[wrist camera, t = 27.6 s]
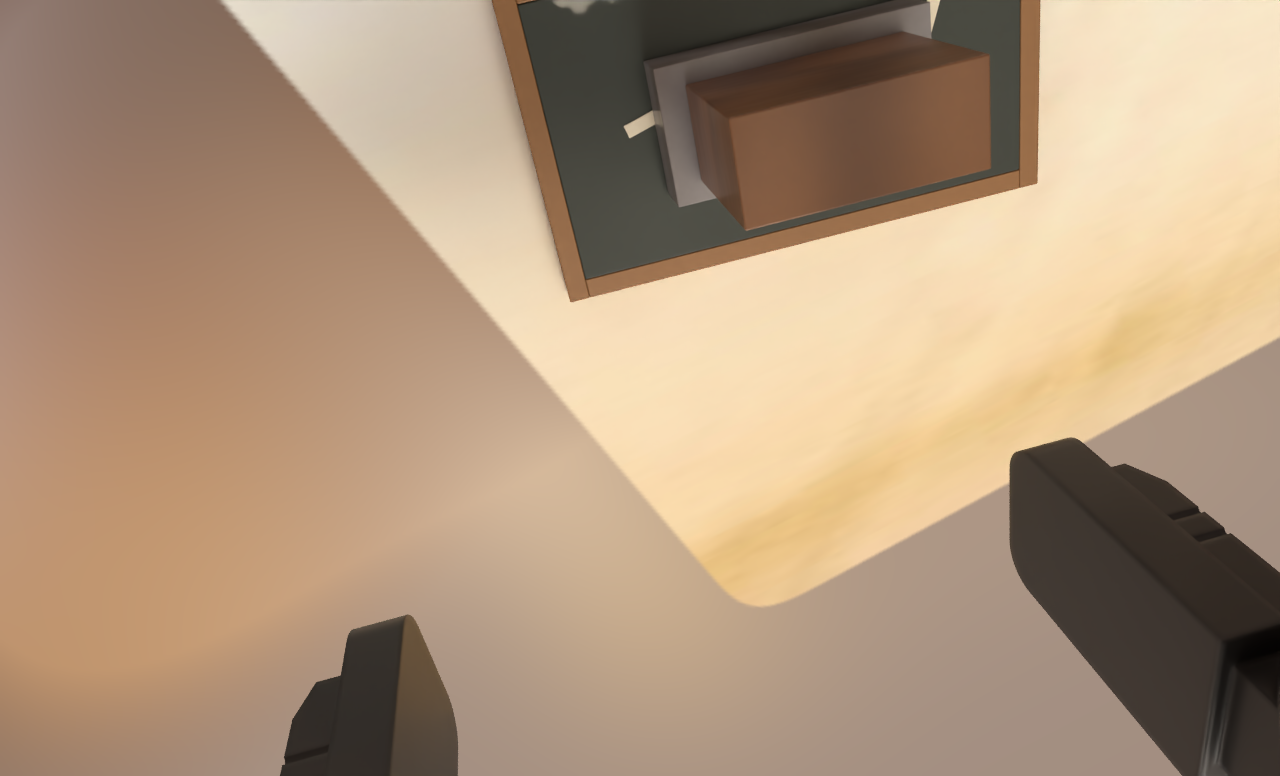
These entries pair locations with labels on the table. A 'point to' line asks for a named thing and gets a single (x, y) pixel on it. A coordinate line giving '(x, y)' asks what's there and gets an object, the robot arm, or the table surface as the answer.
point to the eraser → (820, 114)
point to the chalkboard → (628, 144)
